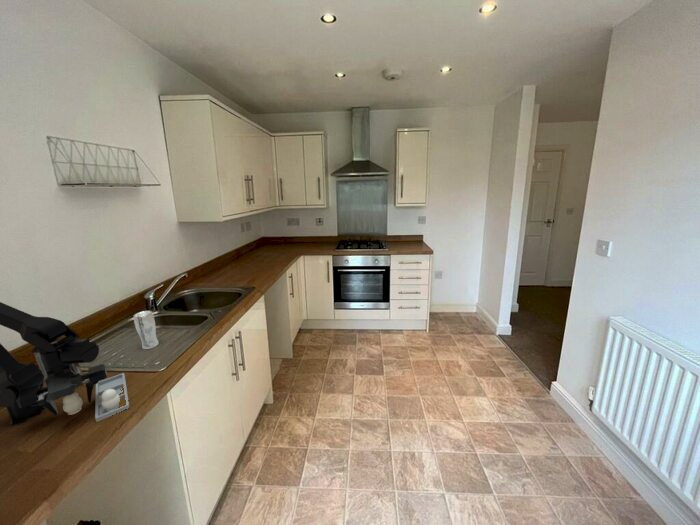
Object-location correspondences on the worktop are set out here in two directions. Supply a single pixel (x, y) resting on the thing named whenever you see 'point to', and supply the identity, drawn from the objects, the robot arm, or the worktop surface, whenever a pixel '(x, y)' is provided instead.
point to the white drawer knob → (110, 400)
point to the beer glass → (146, 329)
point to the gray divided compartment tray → (110, 383)
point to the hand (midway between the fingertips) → (74, 408)
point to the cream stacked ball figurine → (72, 403)
